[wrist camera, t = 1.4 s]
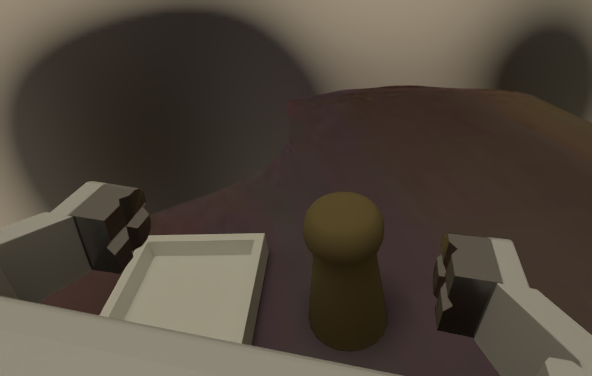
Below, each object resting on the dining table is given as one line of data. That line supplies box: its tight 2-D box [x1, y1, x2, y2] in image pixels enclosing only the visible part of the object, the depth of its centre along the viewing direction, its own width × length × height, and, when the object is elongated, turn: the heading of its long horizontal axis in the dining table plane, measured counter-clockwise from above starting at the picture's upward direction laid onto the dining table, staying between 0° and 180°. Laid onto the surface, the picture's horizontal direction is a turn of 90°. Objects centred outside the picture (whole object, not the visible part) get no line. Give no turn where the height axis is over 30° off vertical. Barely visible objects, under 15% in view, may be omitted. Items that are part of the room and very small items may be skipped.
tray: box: [100, 233, 269, 345], centre depth 34 cm, size 12×12×2 cm
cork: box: [303, 192, 387, 351], centre depth 29 cm, size 6×6×11 cm
